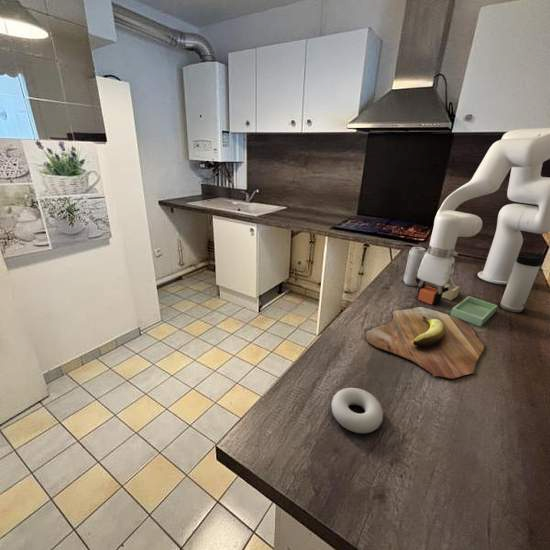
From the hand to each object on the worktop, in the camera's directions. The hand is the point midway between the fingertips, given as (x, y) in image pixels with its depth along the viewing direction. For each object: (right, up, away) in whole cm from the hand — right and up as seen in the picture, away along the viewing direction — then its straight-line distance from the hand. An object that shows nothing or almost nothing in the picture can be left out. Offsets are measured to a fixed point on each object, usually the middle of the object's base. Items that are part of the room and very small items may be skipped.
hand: (428, 298), depth 105 cm
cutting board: (-12, -9, -21) cm, 26 cm away
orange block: (0, 0, 0) cm, 0 cm away
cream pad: (+9, +1, +3) cm, 9 cm away
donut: (-40, -20, -47) cm, 65 cm away
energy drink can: (0, +5, +13) cm, 14 cm away
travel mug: (+26, -3, -4) cm, 27 cm away
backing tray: (+10, -4, -9) cm, 14 cm away
